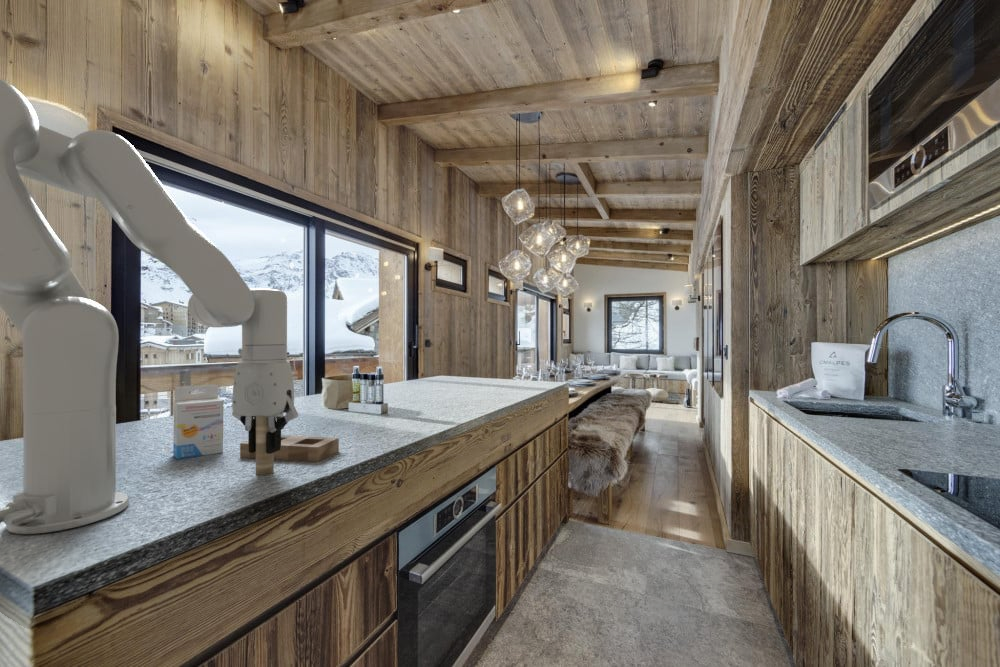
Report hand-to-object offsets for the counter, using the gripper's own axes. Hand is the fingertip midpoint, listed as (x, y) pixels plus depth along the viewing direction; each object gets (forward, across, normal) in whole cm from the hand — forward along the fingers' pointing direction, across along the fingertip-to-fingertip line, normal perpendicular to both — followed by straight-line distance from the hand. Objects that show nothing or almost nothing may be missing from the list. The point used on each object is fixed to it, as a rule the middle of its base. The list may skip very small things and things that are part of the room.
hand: (264, 450), depth 82 cm
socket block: (+4, -3, +12) cm, 13 cm away
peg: (+4, 0, 0) cm, 4 cm away
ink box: (+4, -23, +9) cm, 25 cm away
